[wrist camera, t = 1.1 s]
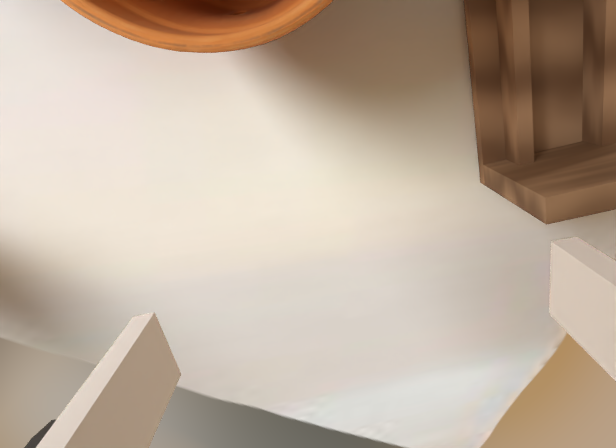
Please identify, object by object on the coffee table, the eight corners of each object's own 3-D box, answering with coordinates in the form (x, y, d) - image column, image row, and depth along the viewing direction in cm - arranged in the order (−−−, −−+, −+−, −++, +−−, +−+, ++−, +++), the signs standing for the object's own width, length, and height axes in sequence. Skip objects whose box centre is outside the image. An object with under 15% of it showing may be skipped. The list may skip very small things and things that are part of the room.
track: (462, -17, 30) (538, -64, 20) (619, -62, 29) (786, -137, 19) (480, 182, 36) (546, 224, 26) (611, 151, 35) (734, 183, 25)
